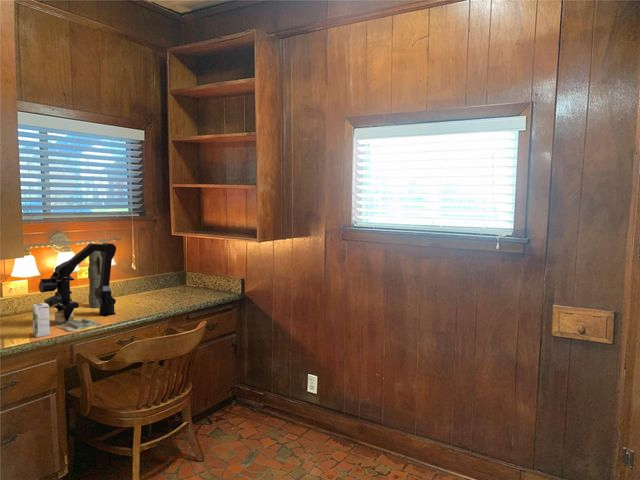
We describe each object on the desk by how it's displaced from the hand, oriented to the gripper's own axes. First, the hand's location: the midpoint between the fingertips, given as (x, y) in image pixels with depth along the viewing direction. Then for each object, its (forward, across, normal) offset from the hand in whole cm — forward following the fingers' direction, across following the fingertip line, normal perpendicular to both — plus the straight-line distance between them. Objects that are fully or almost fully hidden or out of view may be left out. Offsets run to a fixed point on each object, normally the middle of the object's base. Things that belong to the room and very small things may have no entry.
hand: (64, 319), depth 221 cm
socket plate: (+2, +12, +2) cm, 12 cm away
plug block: (+2, 0, 0) cm, 2 cm away
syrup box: (+2, +13, -16) cm, 21 cm away
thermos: (+2, -21, +28) cm, 35 cm away
